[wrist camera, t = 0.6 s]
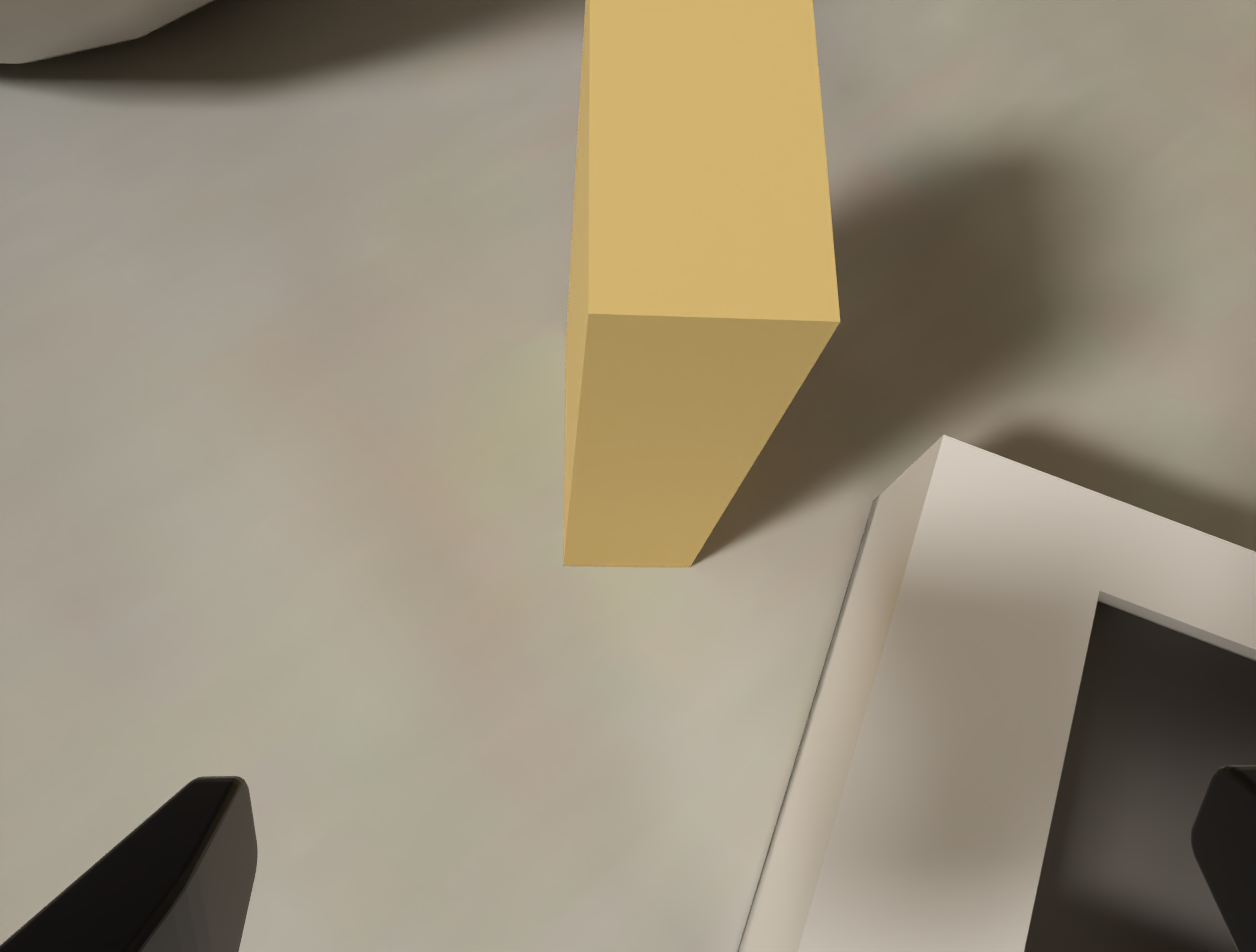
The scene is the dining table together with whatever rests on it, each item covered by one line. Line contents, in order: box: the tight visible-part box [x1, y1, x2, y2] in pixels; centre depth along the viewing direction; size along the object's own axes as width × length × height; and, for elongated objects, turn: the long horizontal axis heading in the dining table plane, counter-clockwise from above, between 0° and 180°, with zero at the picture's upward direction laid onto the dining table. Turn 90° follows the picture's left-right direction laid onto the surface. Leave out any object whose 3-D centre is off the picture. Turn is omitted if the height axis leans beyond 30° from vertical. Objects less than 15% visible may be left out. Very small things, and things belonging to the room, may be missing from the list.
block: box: [563, 0, 840, 567], centre depth 19 cm, size 6×3×12 cm, turn 0°
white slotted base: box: [738, 435, 1256, 952], centre depth 20 cm, size 12×12×4 cm
